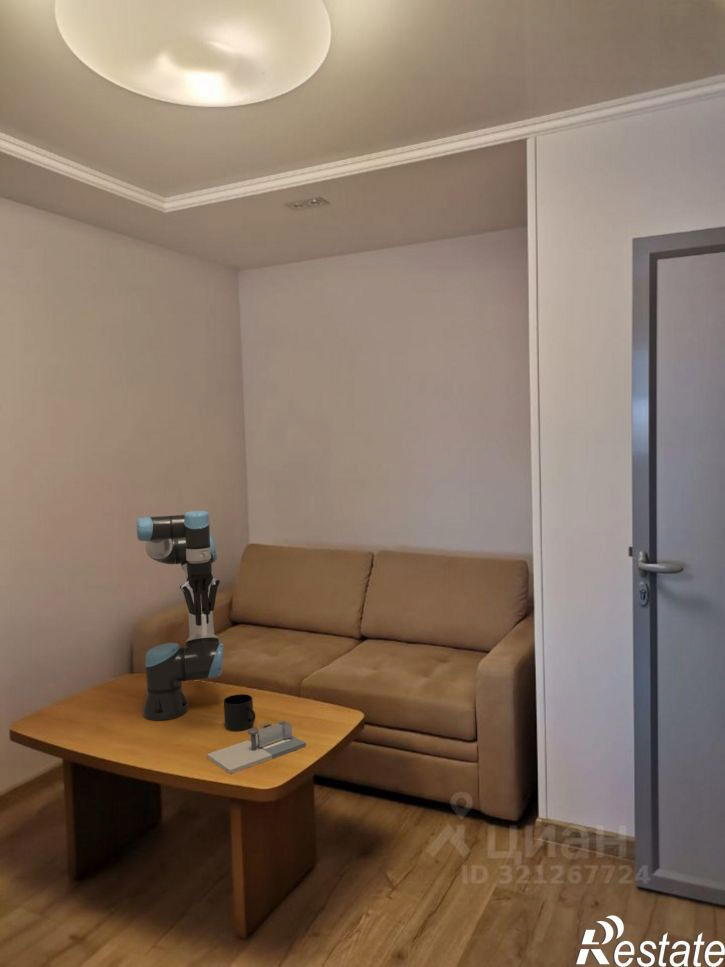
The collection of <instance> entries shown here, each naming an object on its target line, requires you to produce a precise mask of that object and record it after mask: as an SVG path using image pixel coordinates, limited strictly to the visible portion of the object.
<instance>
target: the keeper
mask: <svg viewBox="0 0 725 967" xmlns="http://www.w3.org/2000/svg"><path fill="white" fill-rule="evenodd" d="M272 725H273V724H272V722H270V721H266V722H265V721H264V722H262V723H259V730H260V729H263V728H266V727H269V726H272Z"/></svg>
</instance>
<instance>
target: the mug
mask: <svg viewBox="0 0 725 967" xmlns="http://www.w3.org/2000/svg"><path fill="white" fill-rule="evenodd" d="M253 699H254V698H253V696H251V695H249V694H243V693H241V694H240V693H238V694H237V693H236V694H233V695H229V696H227V697H225V698H224V699H223V714H224V716H223V717H224V727H225V729H226V730H228V731H230V732H243V731H245V730H247V731H248V730H249V729H252V727H253V726H254V723H255V722H254V721H255V720H256V713H255V711H254V705H253V703H254V702H253Z"/></svg>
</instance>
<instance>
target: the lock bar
mask: <svg viewBox="0 0 725 967" xmlns="http://www.w3.org/2000/svg"><path fill="white" fill-rule="evenodd" d="M292 736H293V724H292V723H290V722H288V721H286V720H285V719H284V720H280V721H277V722H276V723H275V724H272V726H269V727H266V728H263V729H260V728H259V729H258V733H257V734H256V746H258V747H262V746H265V745H267V744H270V743H273V742H276V741H278V740H281V739H287V738H290V737H292Z"/></svg>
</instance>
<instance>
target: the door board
mask: <svg viewBox="0 0 725 967" xmlns="http://www.w3.org/2000/svg"><path fill="white" fill-rule="evenodd" d="M258 730H259V728H256V727H253V728H252V727H251V728H249V729H247V734H248V735H250V739H248V740H245V741H242V742H238V743H236V744H233V745H230V746H227V747H224V748H221V749H218V750H215V751H212V752H209V753H207V754H206V758H207V759H208V760H209V761H210V762H212V763H214V764H215V765H216V766H218V768H220V769H222V770H224V771H225V772H226V773H228V774H229V775H232V774H234V773H238V772H240V771H243V770H245V769H248V768H251V767H253V766H256V765H259V764H261V763H264V762H268V761H270V760H272V759H275V758H278V757H281V756H283V755H287V754H289V753H291V752H295V751H298V750H299V749H302V748H305V747H306V742H305V741H303V740H302V739H299V738H298V737H295V736H294V735H292V737H290V738H287V739H281V740H278V741H276V742H273V743H270V744H267V745H265V746H262V747H258V746H256V734H257V733H258Z"/></svg>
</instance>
